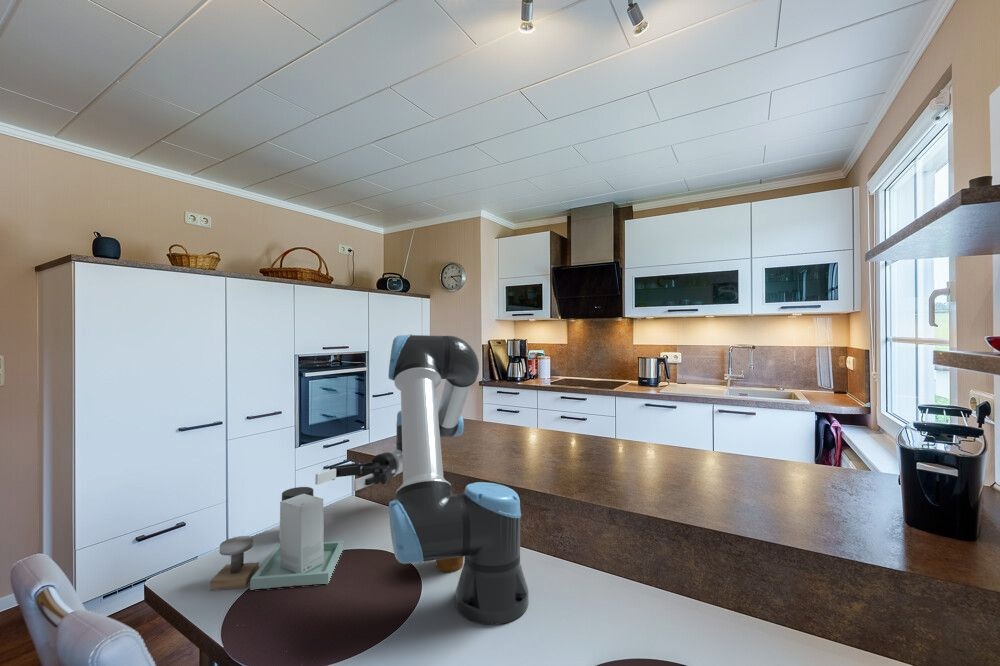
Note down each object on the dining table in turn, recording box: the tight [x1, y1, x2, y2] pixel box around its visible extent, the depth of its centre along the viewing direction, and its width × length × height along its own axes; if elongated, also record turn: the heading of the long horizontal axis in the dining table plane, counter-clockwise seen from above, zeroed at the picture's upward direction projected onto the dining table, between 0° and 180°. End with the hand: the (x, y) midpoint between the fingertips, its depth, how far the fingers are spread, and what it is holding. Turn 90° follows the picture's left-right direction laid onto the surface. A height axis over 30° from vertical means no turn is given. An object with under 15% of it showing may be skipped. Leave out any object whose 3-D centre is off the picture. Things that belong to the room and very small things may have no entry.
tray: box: [249, 540, 344, 591], centre depth 98 cm, size 16×16×2 cm
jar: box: [278, 486, 315, 540], centre depth 116 cm, size 9×8×12 cm
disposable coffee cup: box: [435, 556, 465, 573], centre depth 100 cm, size 10×10×12 cm
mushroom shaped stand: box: [209, 535, 260, 591], centre depth 93 cm, size 7×7×8 cm
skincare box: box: [279, 494, 325, 573], centre depth 98 cm, size 8×7×16 cm
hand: (335, 482), depth 108 cm, fingers open, 13 cm apart
